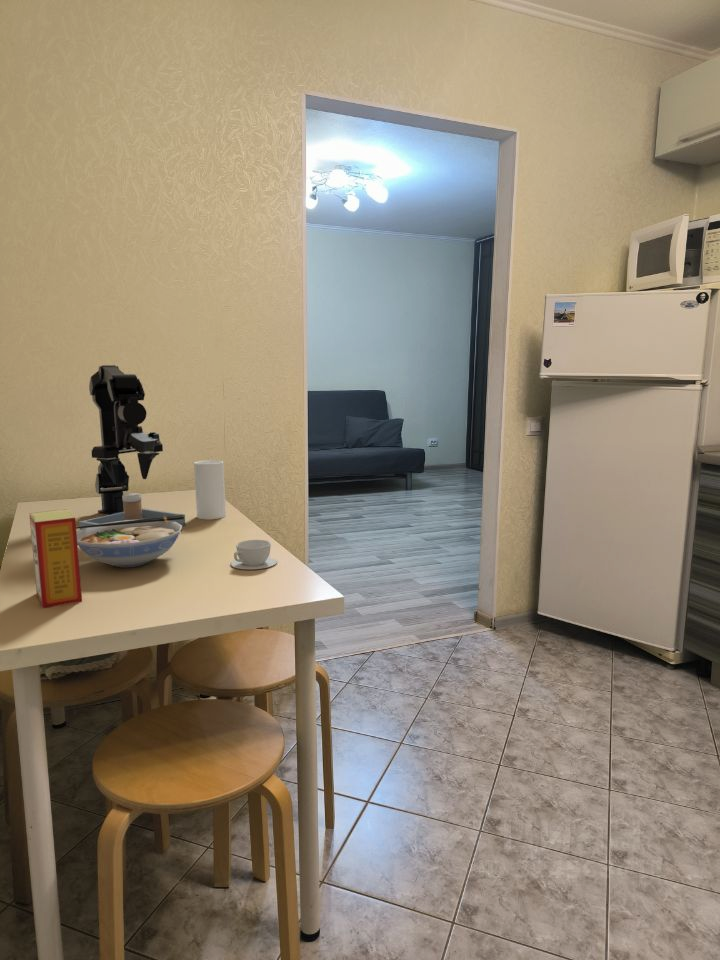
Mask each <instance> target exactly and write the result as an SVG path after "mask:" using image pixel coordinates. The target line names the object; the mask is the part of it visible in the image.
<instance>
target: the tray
mask: <svg viewBox="0 0 720 960" xmlns="http://www.w3.org/2000/svg"><path fill="white" fill-rule="evenodd" d="M175 515H183V516H184V519H180V520H168V521H172V522H177V523H178V524H180V525H182V527H184V526H186V515H185V514H183V513H176V512H170V511H164V510H156V509H149V508H143V507H142V519H149V518H158V517H166V516H175ZM116 521H124V511H123V512H119V513H114V514H106V515H104V516H103V515H102V516H97V517H95V518H90V519H85V520H80V521H78V524H79V526H78V527H82V526H90V525H98V524H103V523H108V522H116ZM81 529H84V528H79V530H81Z"/></svg>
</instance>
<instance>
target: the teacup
mask: <svg viewBox="0 0 720 960" xmlns="http://www.w3.org/2000/svg"><path fill="white" fill-rule="evenodd" d="M271 544H272V543H271V542H270V541H268V540H264V539H248V540H243V541H240V542H239V541H238V542H237V543H236V545H235V547H236V551H234V553H233V559H234V560H232V561H231V562H230V566H231V567H233V568H235V569H240V570H260V569H261V570H262V569H266V568H270V567H273V566H275V565H277V563H278V560H277V559H275V558H273V557H271V556H270V554H271V547H272V546H271Z"/></svg>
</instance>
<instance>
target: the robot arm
mask: <svg viewBox="0 0 720 960" xmlns="http://www.w3.org/2000/svg"><path fill="white" fill-rule="evenodd" d="M88 384H89V387H88V388H89V394H90V396H91V398H92V402H93V403H94V405H95V406H96V407H97V409H98V412H99V413H98V414H99V425H100V426H99V427H100V437H101V438H100V439H101V445H98V446H93V447H92V449H91V458H93V459H94V458H95V459H96V461H98V462H100V463H99V464H98V467H97V473H96V476H95V483H94V487H95V492H96V493H97V494H98V495H100V497H101V509H99V510H97V512H98V513H101V514H106V515H111V514H116V513H121V512H124V508H123V499H122V495H124V492H128V491H129V490H130V489H129V488H130V487H129V483H130V482H129V481H130V475H129V474H128V472H127V470H126V466H125V465H124V464H123V463H122V461H121V458H119V455H122V454H128V453H136V452H137V453H136V454H137V459H138V464H139V469H140V470H139V471H140V474H141V478H142V480H147V479H148V478H147V477H148V475H149V472H150V468H151V464H152V463H153V460H154V459H155V458H156V457H157V456H159V455H160V452H163V451H164V447H163V443H162V442H161V440H160V439H161V438H160V433H158V432H157V431H151V432H149V433H144V430H143V427H142V426H140V424H142V423H144V421H145V420H146V418H147V409H146V408H145V406H144V405H143V404H142V403H140V402H139V401H145V396H146V393H145V390H144V387H143V384H142V382H141V380H140V378H138V376H137V375H136V374H134V373H132V374H131V373H126V374H125V373H124V372H123V371H122V370H121V369H120V368H119V366H118V365H117V366H116V365H114V364H113V365H111V364H110V365H109V364H108V365H107V364H106V365H102V364H101V366H98V370H97V371H96V372H95V373H93V375H91V376H90V379H89V383H88Z"/></svg>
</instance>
